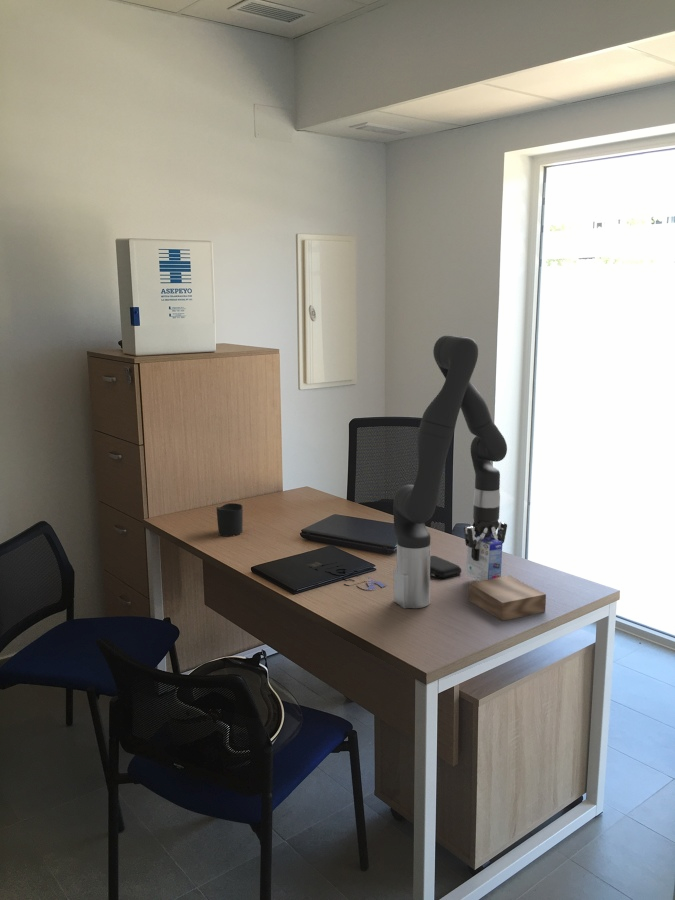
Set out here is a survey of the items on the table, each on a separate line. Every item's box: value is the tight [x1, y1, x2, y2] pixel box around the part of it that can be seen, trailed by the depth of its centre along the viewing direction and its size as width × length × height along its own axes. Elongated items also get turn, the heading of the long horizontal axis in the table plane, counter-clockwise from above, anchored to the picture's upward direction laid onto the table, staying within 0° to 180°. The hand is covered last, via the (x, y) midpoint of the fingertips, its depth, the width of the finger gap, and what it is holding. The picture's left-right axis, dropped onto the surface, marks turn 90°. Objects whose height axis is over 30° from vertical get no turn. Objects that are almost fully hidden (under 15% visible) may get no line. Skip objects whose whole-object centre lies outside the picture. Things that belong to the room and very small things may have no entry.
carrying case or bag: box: [430, 555, 462, 580], centre depth 241 cm, size 11×3×15 cm
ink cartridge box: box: [465, 533, 504, 581], centre depth 228 cm, size 10×6×14 cm, turn 32°
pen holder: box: [216, 502, 244, 537], centre depth 282 cm, size 9×9×10 cm
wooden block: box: [468, 575, 547, 621], centre depth 213 cm, size 14×16×5 cm
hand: (484, 558), depth 228 cm, fingers closed on ink cartridge box, 5 cm apart
